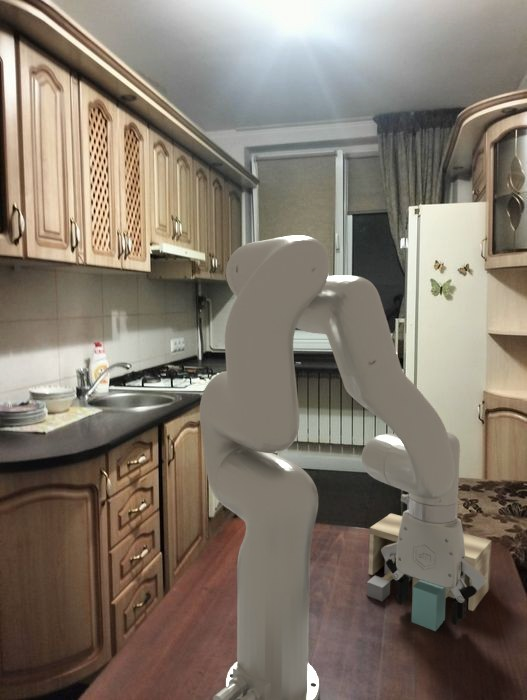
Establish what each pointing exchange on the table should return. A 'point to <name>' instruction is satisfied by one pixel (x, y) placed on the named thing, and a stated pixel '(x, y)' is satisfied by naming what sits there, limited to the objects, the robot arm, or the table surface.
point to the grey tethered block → (381, 584)
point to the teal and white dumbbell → (430, 603)
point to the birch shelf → (386, 535)
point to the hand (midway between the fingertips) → (429, 610)
